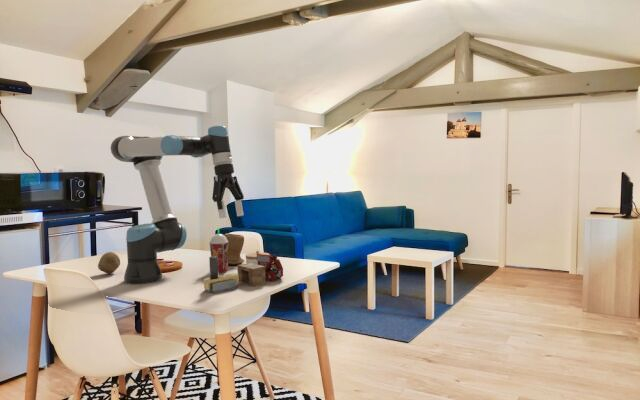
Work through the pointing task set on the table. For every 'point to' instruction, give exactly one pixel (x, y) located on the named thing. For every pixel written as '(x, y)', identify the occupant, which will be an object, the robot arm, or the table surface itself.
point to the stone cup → (234, 248)
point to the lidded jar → (253, 257)
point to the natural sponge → (109, 262)
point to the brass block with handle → (217, 274)
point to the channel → (223, 286)
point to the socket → (251, 274)
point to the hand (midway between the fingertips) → (232, 216)
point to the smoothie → (220, 251)
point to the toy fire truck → (270, 266)
